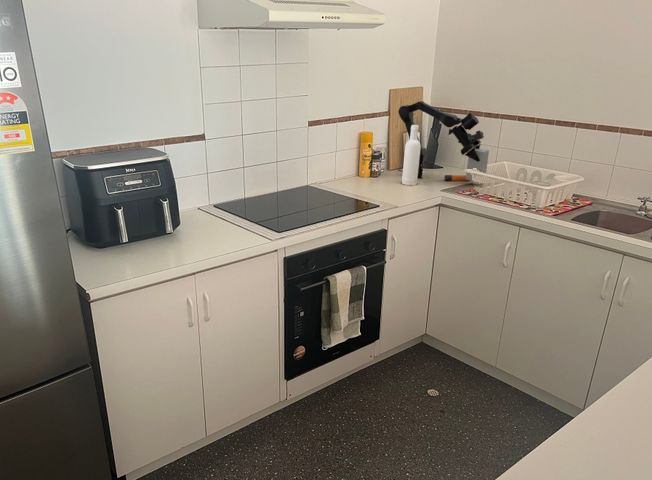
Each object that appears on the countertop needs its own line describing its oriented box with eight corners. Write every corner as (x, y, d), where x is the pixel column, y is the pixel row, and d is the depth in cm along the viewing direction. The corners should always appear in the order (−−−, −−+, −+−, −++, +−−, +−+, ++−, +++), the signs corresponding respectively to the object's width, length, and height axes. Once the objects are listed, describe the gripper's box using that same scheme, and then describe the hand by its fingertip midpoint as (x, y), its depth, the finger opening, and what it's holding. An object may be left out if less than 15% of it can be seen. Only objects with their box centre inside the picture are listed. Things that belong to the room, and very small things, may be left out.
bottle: (418, 185, 287) (424, 126, 275) (403, 185, 287) (408, 126, 275) (415, 181, 295) (421, 124, 283) (400, 181, 295) (405, 124, 283)
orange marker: (445, 181, 296) (446, 175, 295) (444, 179, 299) (444, 174, 297) (472, 181, 296) (473, 176, 295) (470, 179, 299) (471, 174, 297)
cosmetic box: (485, 180, 288) (490, 150, 282) (479, 182, 283) (484, 151, 277) (470, 177, 293) (475, 147, 287) (463, 179, 288) (469, 148, 282)
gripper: (470, 128, 272) (489, 153, 271) (479, 123, 286) (498, 147, 286) (452, 142, 279) (471, 167, 278) (462, 137, 293) (480, 160, 292)
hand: (480, 160), depth 283 cm, fingers closed on cosmetic box, 7 cm apart
